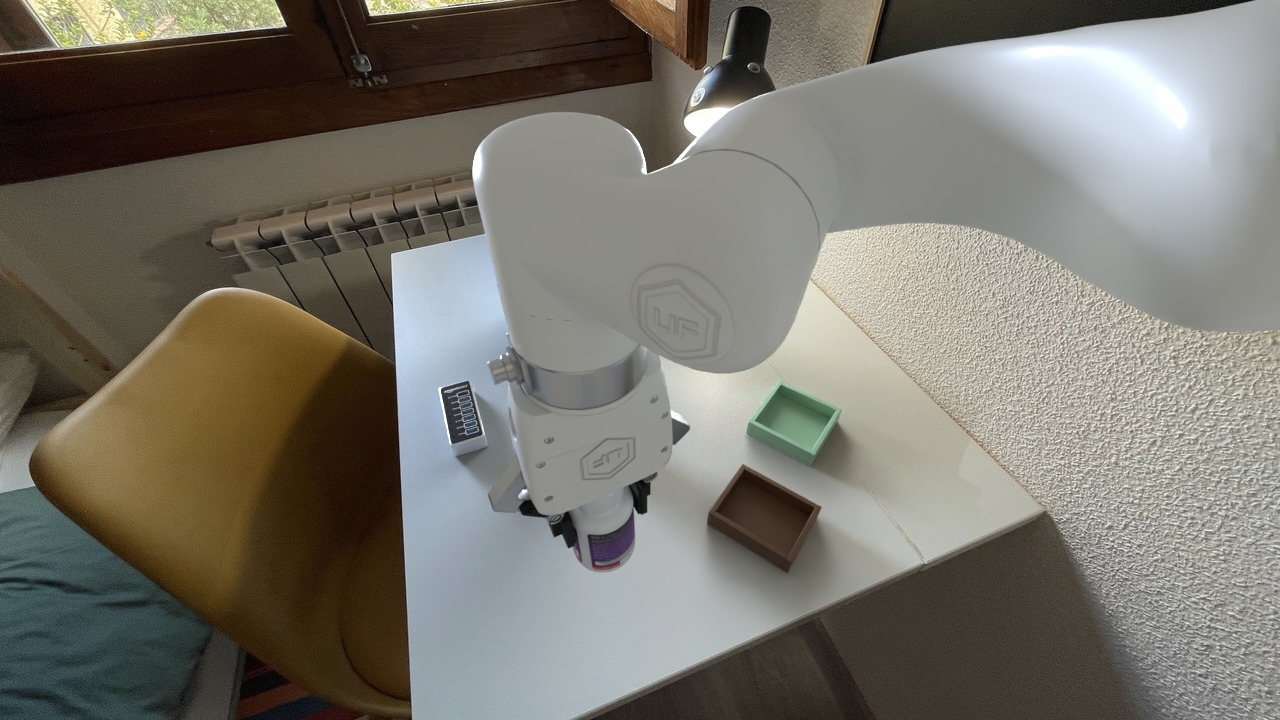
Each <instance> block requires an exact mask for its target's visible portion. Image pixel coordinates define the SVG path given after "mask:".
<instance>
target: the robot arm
mask: <svg viewBox="0 0 1280 720" xmlns="http://www.w3.org/2000/svg"><path fill="white" fill-rule="evenodd" d="M645 159H646V158H645V156H644V153H643V149H642V147H641V145H640V143H639V141H638V140H637V138H636V137H635V135H634V134H633V133H632V132H631V131H630V130H629V129H627V128H625V127H624V126H623V125H621V124H620V123H618V122H617V121H615V120H613V119H610V118H607V117H604V116H600V115H596V114H590V113H583V112H575V111H556V112H555V111H553V112H544V113H537V114H533V115H532V114H531V115H528V116H525V117H524V116H523V117H521V118H517V119H514V120H512V121H508V122H507V123H503V124H502V125H500V126H498V127H497V128H495V129H493V130H492V131H491V132H490V133H489V134H488V135H487V136H486V137H484V139H482V141H481V143H480V144H479V145H478V147H477V149H476V151H475V154H474V159H473V164H472V183H473V187H474V188H473V189H474V192H475V193H474V194H475V198H476V201H477V207H478V210H479V214H480V219H481V223H482V227H483V231H484V236H485V239H486V244H487V248H488V251H489V252H488V253H489V256H490V260H491V265H492V268H493V273H494V277H495V281H496V286H497V289H498V290H497V291H498V295H499V299H500V303H501V307H502V312H503V315H504V319H505V323H506V328H507V331H508V332H507V333H506V334H505V336H506V340H507V343H508V346H506V347H505V353H502V354H499V357H498V358H495V359H493V360H489V361H487V362H486V364H487V367H488V368H487V369H488V371H489V374H490V377H491V378H492V381H493V384H494V385H495V386H497V385H499V384H503V383H505V382H508V386H507V412H508V420H509V429H510V435H511V442H512V448H513V452H514V456H515V457H514V458H513V459H512V460H511V462H510V463H509V465H508V466H507V467H506V468H505V470H504V471H503V473H502V474H501V475H500V477H499V478H498V480H497V481H496V482H495V484H494V485H493V486H492V488H491V489H490V491H489V492H488V494H487V498H488V500H489V503H490V506H491V510H492V511H493V512H494V513H502V514H503V513H504V514H505V513H506V514H507V513H509V514H516V513H517V512H519V513H520V514H521V516H524V517H532V518H543V519H545V520H546V522H547V524H548V527H549V529H550V531H551V534H552V536H553V538H557V537H559V536H562V538H563V541H564V543H565V546H566V547H567V549H570V548H572V547H573V546H574V544H575V543H576V539H575V533H574V528H573V523H572V519H571V516H570V514H569V512H568V511H570V510H572V509H575V508H577V507H579V506H582V505H584V504H586V503H589V502H591V501H593V500H596V499H598V498H600V497H603V496H605V495H607V494H610V493H612V492H614V491H617V490H619V489H621V488H623V487H626V486H628V485H629V487H630V489H631V491H632V494H633V501H634V511H635V512H636V513H637V515H640V516H643V515H645V514H647V513H648V496H651V491H652V490H651V487H652V485H651V484H652V483H651V482H653V481H655V480H656V479H657V477H658V472H659V471H660V470H661V469H663V468H664V467H665V466H666V465H667V464H668V463H669V461H670V459H671V457H672V453H673V446H675V445H676V444H678V443H679V442H680V441H681V440H682V439H683V438H684V437H685V436H686V435H687V434H688V432H690V430H691V426H690V425H689V423H688V422H687V421H686V419H685V418H684V416H683V415H682V414H680V413H678V412H676V411H674V410H672V409H671V403H670V397H669V390H668V386H667V381H666V376H665V371H664V368H663V365H662V364H663V363H662V361H661V358H660V357H662V358H664V359H666V360H669V361H670V362H672V363H674V364H678V365H680V366H683V367H684V368H685V367H686V368H689V369H691V370H694V371H698V372H705V373H710V374H717V375H718V374H719V375H720V374H721V375H722V374H725V375H726V374H728V375H729V374H735V373H739V372H745V371H747V370H750V369H753V368H755V367H756V366H759V365H761V364H762V363H764V362H765V361H766V360H768V359H769V358H770V357H772V356H773V354H775V352H776V351H777V350H778V349H779V348H780V347H781V345H782V344H783V343H784V341H785V340H786V338H787V337H788V335H789V333H790V331H791V330H792V328H793V325H794V323H795V322H796V319H797V315H798V313H799V310H800V308H801V305H802V303H803V300H804V297H805V295H806V292H807V288H808V286H809V283H810V280H811V278H812V275H813V272H814V269H815V267H816V265H817V262H818V260H819V257H820V254H821V250H822V249H823V245H824V242H825V240H826V237H827V234H833V233H839V232H846V231H852V230H853V231H854V230H860V229H869V228H874V227H884V226H893V225H895V226H896V225H907V224H908V225H909V224H935V225H936V224H938V225H950V226H960V227H964V228H971V229H975V230H977V229H978V230H980V231H984V232H988V233H990V234H995V235H999V236H1002V237H1005V238H1007V239H1010V240H1013V241H1015V242H1018V243H1021V244H1022V245H1024V246H1026V247H1028V248H1030V249H1032V250H1034V251H1036V252H1038V253H1040V254H1042V255H1043V256H1045V257H1047V258H1048V259H1050V260H1052V261H1053V262H1055V263H1056V264H1059V266H1061V267H1063V268H1065V269H1066V270H1067V271H1069V272H1070V273H1073V274H1074V275H1075V276H1076V277H1079V278H1080V279H1082V280H1084V281H1085V282H1087V283H1088V284H1090V285H1092V286H1094V287H1096V288H1098V289H1099V290H1101V291H1103V292H1104V293H1106V294H1108V295H1109V296H1111V297H1113V298H1115V299H1118V300H1119V301H1121V302H1122V303H1125V304H1126V305H1129V306H1130V307H1132V308H1134V309H1136V310H1138V311H1140V312H1142V313H1144V314H1147V315H1148V316H1151V317H1153V318H1155V319H1157V320H1159V321H1161V322H1164V323H1168V324H1171V325H1175V326H1178V327H1181V328H1184V329H1185V328H1186V329H1189V330H1193V331H1202V332H1203V331H1204V332H1214V333H1215V332H1216V333H1242V332H1245V333H1246V332H1270V331H1271V332H1272V331H1280V0H1251V1H1247V2H1242V3H1237V4H1233V5H1232V4H1231V5H1227V6H1224V7H1219V8H1215V9H1208V10H1203V11H1197V12H1193V13H1186V14H1180V15H1173V16H1172V15H1171V16H1164V17H1152V18H1143V19H1133V20H1132V19H1131V20H1124V21H1115V22H1108V23H1107V22H1106V23H1100V24H1099V23H1098V24H1094V25H1086V26H1081V27H1076V28H1071V29H1066V30H1060V31H1054V32H1047V33H1041V34H1034V35H1026V36H1020V37H1019V36H1018V37H1011V38H1001V39H993V40H985V41H984V40H983V41H977V42H971V43H964V44H959V45H958V44H957V45H951V46H944V47H939V48H935V49H928V50H924V51H918V52H914V53H909V54H905V55H900V56H896V57H892V58H889V59H883V60H881V61H876V62H873V63H869V64H865V65H861V66H857V67H854V68H849V69H846V70H843V71H840V72H836V73H833V74H832V73H831V74H829V75H825V76H822V77H817V78H814V79H810V80H808V81H804V82H800V83H796V84H793V85H789V86H785V87H782V88H779V89H776V90H772V91H770V92H767V93H764V94H760V95H758V96H755V97H753V98H751V99H748V100H746V101H744V102H741V103H740V104H738V105H735V106H734V107H731V108H730V109H729V110H727V111H726V112H724V113H722V114H721V115H719V116H718V117H717V118H715V119H714V120H713V121H712V122H711V123H710V124H709V125H708V126H706V128H705V129H704V130H703V131H702V132H701V133H699V134H698V136H697V137H696V138H695V139H694V140H692V142H691V143H690V144H689V145H688V146H687V147H686V149H684V151H683V152H682V153H681V154H680V155H679V156H678V157H677V158H676V160H675V161H674V162H673V163H672V164H669V165H667V166H664V167H662V168H660V169H656V170H654V171H651V172H649V173H647V164H646V163H647V162H646V160H645Z"/></svg>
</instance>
